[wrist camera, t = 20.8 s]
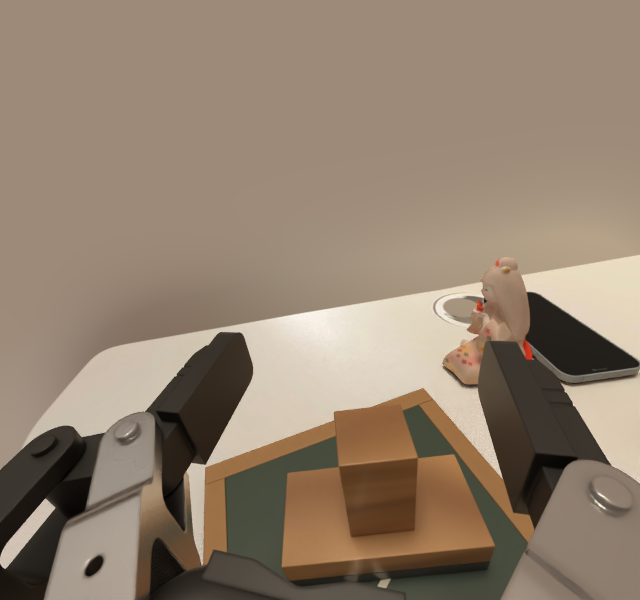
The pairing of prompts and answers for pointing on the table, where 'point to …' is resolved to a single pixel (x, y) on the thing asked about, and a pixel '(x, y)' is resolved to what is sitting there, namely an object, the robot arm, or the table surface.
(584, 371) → the smartphone
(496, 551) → the chalkboard
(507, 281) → the figurine
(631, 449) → the table surface
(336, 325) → the table surface
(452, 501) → the eraser
